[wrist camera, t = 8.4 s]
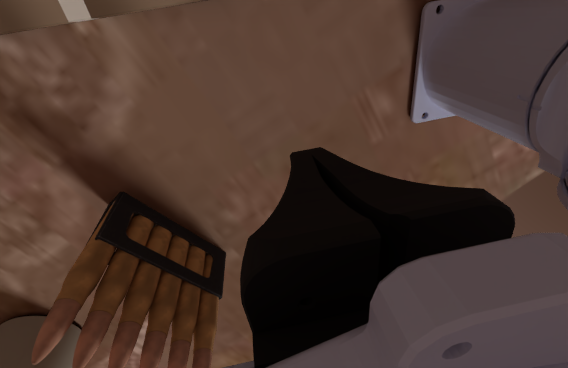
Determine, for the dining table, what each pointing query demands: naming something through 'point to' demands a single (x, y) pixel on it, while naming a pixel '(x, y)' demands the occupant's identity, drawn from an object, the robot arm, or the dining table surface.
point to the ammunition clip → (140, 290)
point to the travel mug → (21, 339)
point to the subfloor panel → (69, 11)
